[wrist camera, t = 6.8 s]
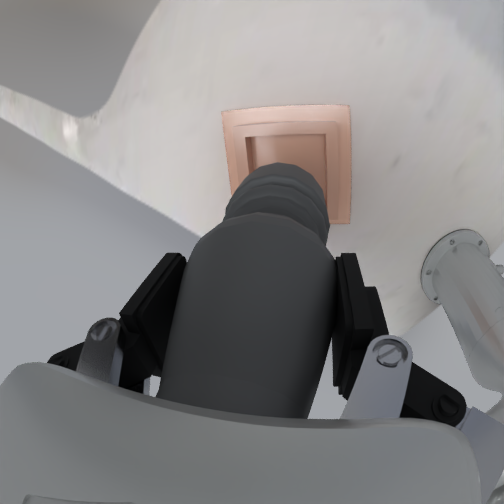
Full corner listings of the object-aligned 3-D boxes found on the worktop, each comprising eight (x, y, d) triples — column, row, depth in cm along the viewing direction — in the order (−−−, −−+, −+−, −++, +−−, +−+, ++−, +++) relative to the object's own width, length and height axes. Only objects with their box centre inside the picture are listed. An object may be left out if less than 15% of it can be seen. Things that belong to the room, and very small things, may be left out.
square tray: (347, 105, 25) (354, 105, 22) (348, 220, 32) (353, 235, 29) (223, 111, 28) (212, 112, 25) (237, 221, 35) (229, 235, 32)
